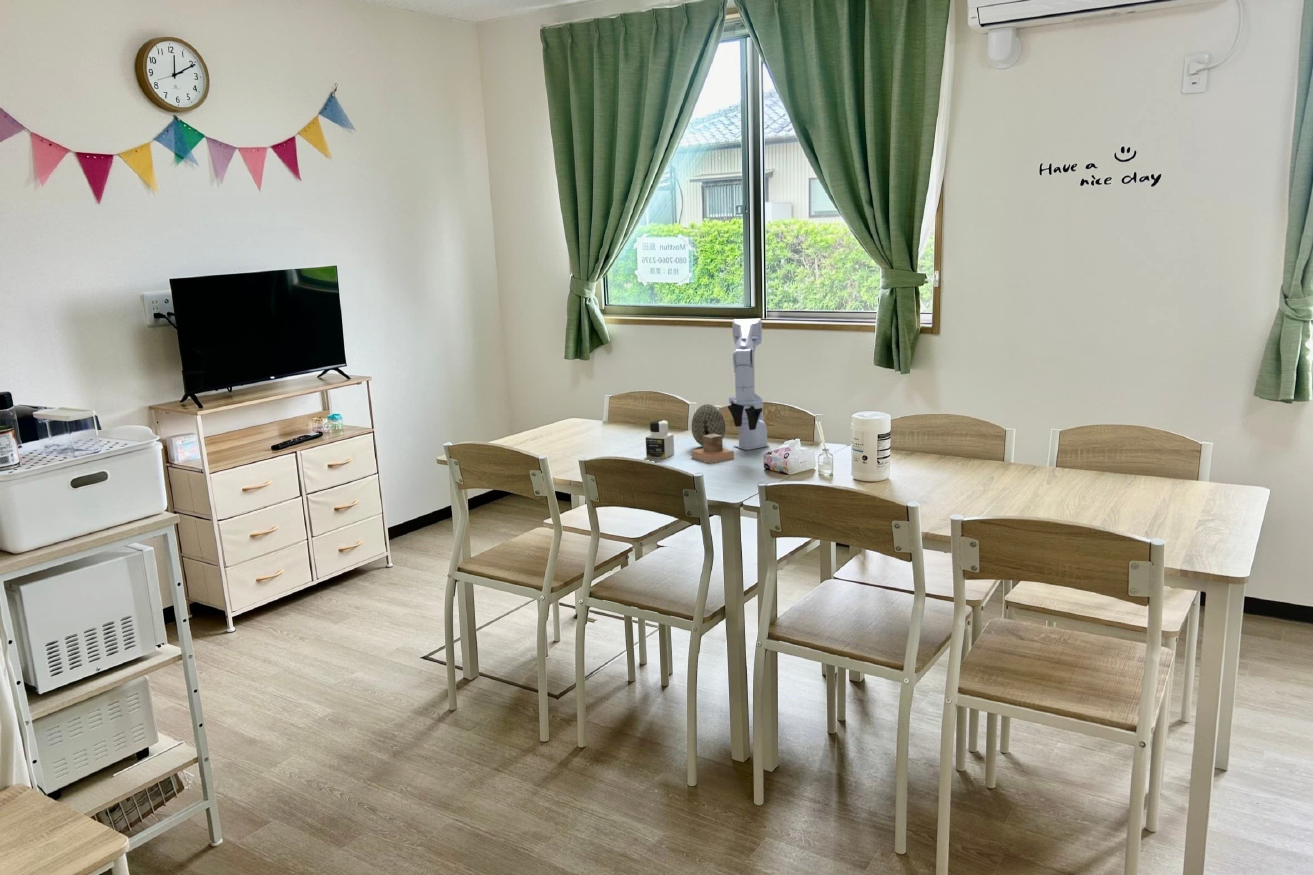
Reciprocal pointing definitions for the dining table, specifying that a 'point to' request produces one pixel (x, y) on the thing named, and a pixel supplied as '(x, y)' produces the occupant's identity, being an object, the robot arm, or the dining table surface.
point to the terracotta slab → (712, 455)
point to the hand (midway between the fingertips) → (745, 427)
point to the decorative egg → (707, 422)
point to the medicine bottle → (659, 440)
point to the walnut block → (712, 443)
